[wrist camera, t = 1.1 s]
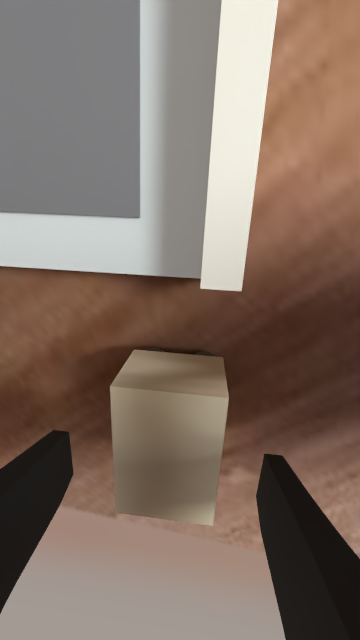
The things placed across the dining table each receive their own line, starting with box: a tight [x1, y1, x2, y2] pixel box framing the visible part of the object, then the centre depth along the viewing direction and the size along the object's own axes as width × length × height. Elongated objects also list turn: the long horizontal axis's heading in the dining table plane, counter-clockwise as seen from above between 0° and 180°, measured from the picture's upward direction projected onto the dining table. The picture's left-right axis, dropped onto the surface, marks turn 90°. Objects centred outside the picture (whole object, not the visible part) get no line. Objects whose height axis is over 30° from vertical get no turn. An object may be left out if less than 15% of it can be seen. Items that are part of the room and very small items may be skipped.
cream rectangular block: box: [110, 347, 229, 526], centre depth 11 cm, size 4×6×4 cm, turn 177°
